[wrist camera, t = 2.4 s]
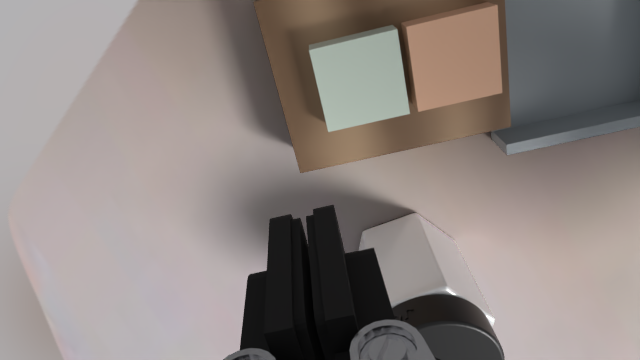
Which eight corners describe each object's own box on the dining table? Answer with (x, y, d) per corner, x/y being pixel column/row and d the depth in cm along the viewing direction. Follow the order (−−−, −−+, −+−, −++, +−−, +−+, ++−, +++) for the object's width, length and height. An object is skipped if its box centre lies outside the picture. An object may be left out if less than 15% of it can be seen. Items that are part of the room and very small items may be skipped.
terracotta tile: (487, 1, 27) (497, 4, 25) (492, 85, 29) (502, 92, 28) (401, 22, 27) (406, 26, 26) (412, 103, 29) (418, 111, 28)
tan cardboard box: (477, -59, 29) (501, -60, 25) (489, 107, 34) (511, 126, 30) (259, -5, 30) (253, 2, 26) (300, 150, 35) (300, 173, 31)
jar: (364, 205, 37) (388, 310, 26) (463, 216, 38) (526, 323, 27) (346, 294, 41) (360, 416, 30) (436, 302, 42) (481, 425, 31)
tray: (664, -154, 27) (704, -166, 24) (642, 106, 34) (671, 119, 31) (474, -105, 28) (492, -111, 25) (491, 139, 35) (507, 155, 32)
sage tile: (392, 24, 27) (397, 29, 26) (404, 105, 29) (409, 113, 28) (308, 45, 28) (308, 50, 26) (327, 123, 30) (328, 132, 28)
